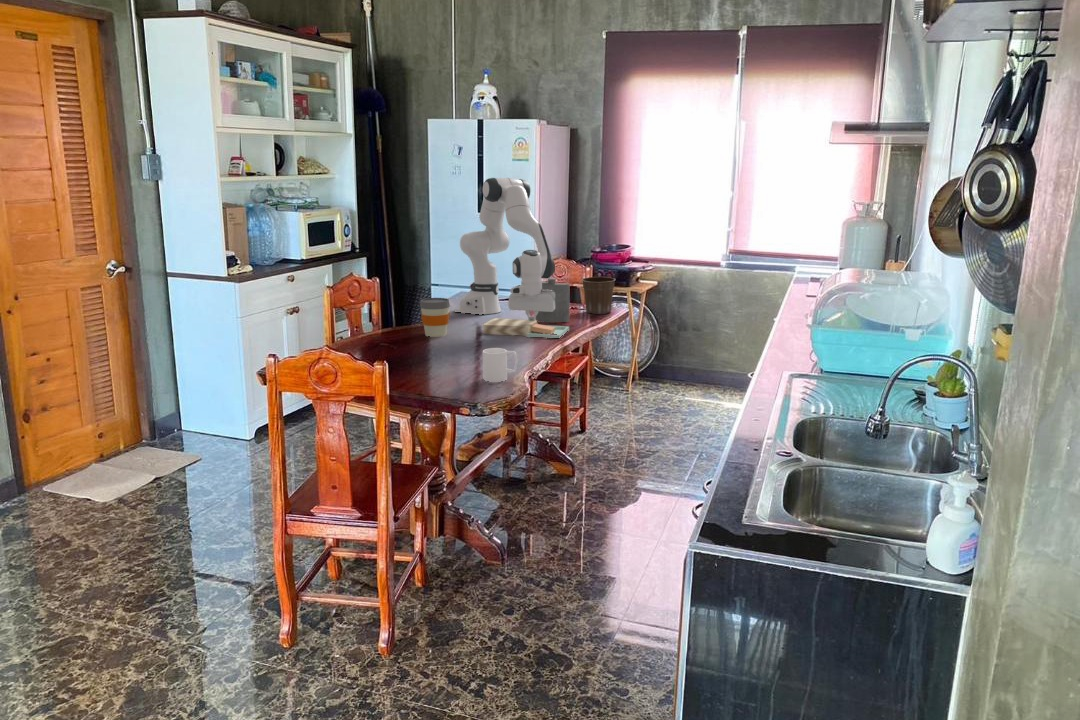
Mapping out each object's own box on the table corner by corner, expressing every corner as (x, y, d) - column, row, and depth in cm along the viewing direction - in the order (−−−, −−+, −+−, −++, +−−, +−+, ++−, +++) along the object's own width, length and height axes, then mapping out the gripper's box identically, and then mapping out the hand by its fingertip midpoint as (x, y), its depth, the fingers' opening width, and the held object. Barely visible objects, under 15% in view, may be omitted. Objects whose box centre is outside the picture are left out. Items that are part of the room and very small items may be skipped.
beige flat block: (483, 333, 350) (483, 324, 349) (493, 327, 363) (493, 318, 362) (528, 336, 345) (528, 327, 344) (537, 329, 358) (537, 320, 357)
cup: (516, 382, 277) (516, 354, 274) (481, 382, 278) (480, 353, 275) (519, 376, 284) (519, 348, 282) (485, 375, 286) (484, 347, 283)
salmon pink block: (530, 330, 348) (531, 326, 348) (534, 328, 354) (535, 323, 353) (551, 334, 346) (551, 330, 346) (554, 331, 352) (555, 327, 351)
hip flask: (569, 321, 375) (570, 277, 370) (568, 323, 371) (568, 279, 366) (535, 320, 378) (535, 277, 373) (534, 322, 374) (533, 278, 369)
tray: (526, 337, 343) (526, 333, 343) (538, 328, 360) (538, 324, 360) (559, 339, 340) (559, 335, 339) (569, 330, 356) (569, 326, 356)
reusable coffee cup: (433, 330, 357) (431, 296, 353) (456, 333, 351) (455, 299, 347) (415, 336, 346) (413, 301, 343) (439, 339, 340) (437, 303, 337)
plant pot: (586, 316, 386) (587, 282, 382) (577, 309, 401) (577, 277, 397) (619, 314, 390) (620, 280, 386) (608, 308, 405) (609, 276, 401)
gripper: (557, 288, 347) (557, 320, 350) (511, 286, 352) (511, 318, 356) (553, 291, 341) (553, 323, 345) (506, 289, 347) (507, 321, 350)
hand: (532, 320), depth 350 cm, fingers closed
